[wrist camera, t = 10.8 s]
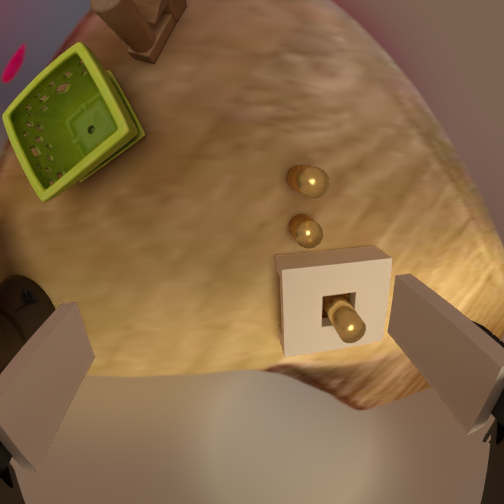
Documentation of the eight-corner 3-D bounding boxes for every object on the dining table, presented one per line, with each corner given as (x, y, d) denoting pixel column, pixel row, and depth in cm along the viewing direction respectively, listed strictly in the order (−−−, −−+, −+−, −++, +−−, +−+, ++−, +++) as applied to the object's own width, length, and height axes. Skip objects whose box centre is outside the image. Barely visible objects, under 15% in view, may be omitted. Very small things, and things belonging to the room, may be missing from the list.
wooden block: (188, 5, 33) (169, -64, 16) (154, 64, 36) (112, 15, 19) (166, 0, 32) (138, -67, 15) (132, 58, 35) (81, 11, 18)
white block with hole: (278, 335, 50) (284, 357, 44) (275, 255, 46) (281, 269, 40) (368, 322, 51) (382, 340, 45) (374, 245, 46) (392, 257, 41)
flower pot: (117, 63, 35) (81, 36, 23) (160, 138, 39) (133, 132, 27) (46, 119, 36) (-4, 115, 24) (84, 192, 40) (39, 208, 28)
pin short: (289, 239, 45) (296, 249, 40) (288, 214, 44) (295, 222, 39) (313, 237, 45) (322, 247, 40) (312, 213, 44) (322, 220, 39)
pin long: (315, 303, 49) (338, 345, 37) (315, 283, 47) (340, 321, 36) (336, 300, 49) (364, 340, 37) (337, 280, 48) (367, 317, 36)
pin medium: (286, 190, 43) (299, 198, 35) (285, 165, 42) (298, 167, 34) (311, 190, 43) (329, 197, 35) (311, 164, 42) (328, 166, 34)
